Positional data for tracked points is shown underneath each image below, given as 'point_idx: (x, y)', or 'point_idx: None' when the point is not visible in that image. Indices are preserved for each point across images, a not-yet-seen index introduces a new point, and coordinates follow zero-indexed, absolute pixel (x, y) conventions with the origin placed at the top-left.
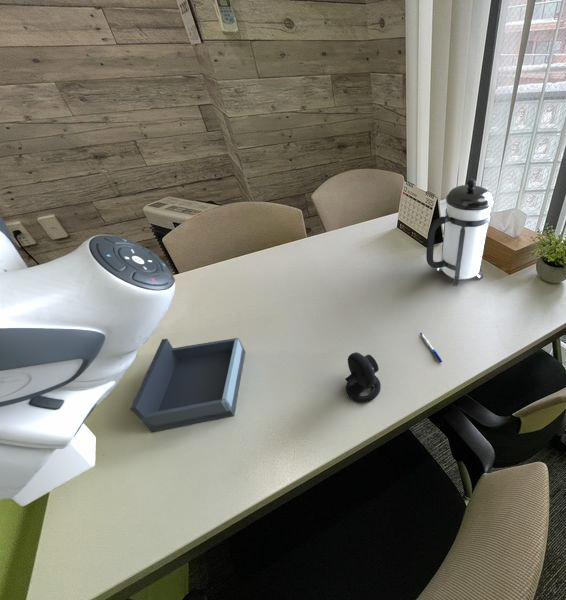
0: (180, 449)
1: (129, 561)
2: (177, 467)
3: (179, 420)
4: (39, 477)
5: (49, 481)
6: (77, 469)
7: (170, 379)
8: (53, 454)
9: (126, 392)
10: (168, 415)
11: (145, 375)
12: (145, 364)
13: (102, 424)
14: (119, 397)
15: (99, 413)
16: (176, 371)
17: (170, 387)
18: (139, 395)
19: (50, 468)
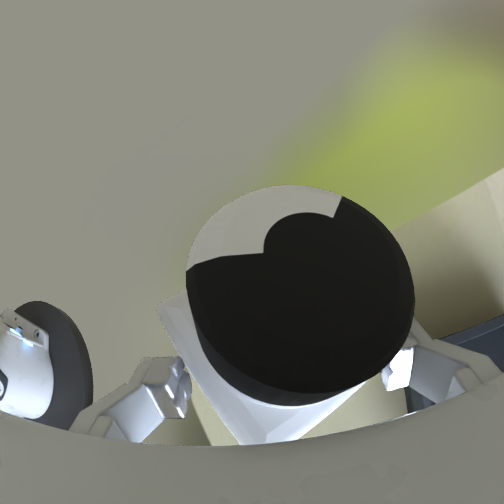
0: (366, 419)
1: (212, 418)
2: (335, 429)
3: (413, 403)
4: (200, 388)
5: (205, 396)
6: (232, 434)
7: (483, 334)
8: (225, 423)
9: (458, 267)
10: (419, 394)
11: (488, 321)
12: (498, 265)
13: (409, 267)
14: (449, 262)
15: (424, 251)
16: (496, 334)
17: (471, 345)
18: (452, 341)
19: (213, 407)
